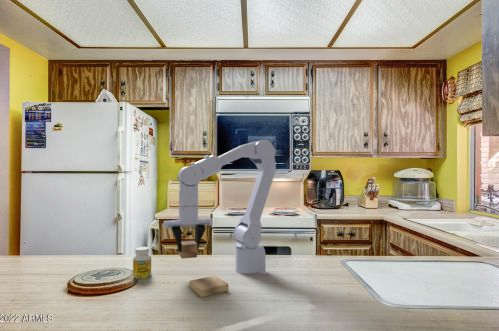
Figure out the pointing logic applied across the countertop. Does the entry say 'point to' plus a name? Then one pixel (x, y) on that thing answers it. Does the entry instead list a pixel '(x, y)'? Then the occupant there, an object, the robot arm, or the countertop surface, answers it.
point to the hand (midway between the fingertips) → (188, 250)
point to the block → (188, 249)
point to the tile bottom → (212, 294)
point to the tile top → (208, 286)
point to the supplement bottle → (142, 263)
